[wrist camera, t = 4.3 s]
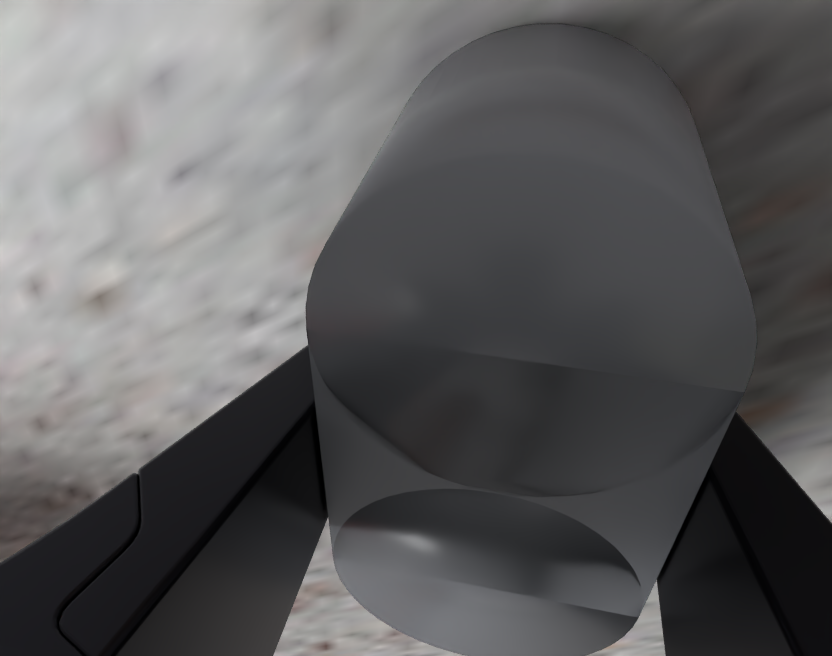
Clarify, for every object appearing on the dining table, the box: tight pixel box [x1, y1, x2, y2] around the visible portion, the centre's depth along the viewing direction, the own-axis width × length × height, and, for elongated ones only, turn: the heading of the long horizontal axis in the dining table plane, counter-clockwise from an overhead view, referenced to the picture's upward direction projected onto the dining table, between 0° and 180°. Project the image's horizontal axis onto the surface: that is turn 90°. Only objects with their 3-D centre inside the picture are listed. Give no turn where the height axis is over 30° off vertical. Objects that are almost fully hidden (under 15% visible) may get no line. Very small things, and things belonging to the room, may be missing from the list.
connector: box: [306, 24, 757, 656], centre depth 9 cm, size 4×10×4 cm, turn 179°
